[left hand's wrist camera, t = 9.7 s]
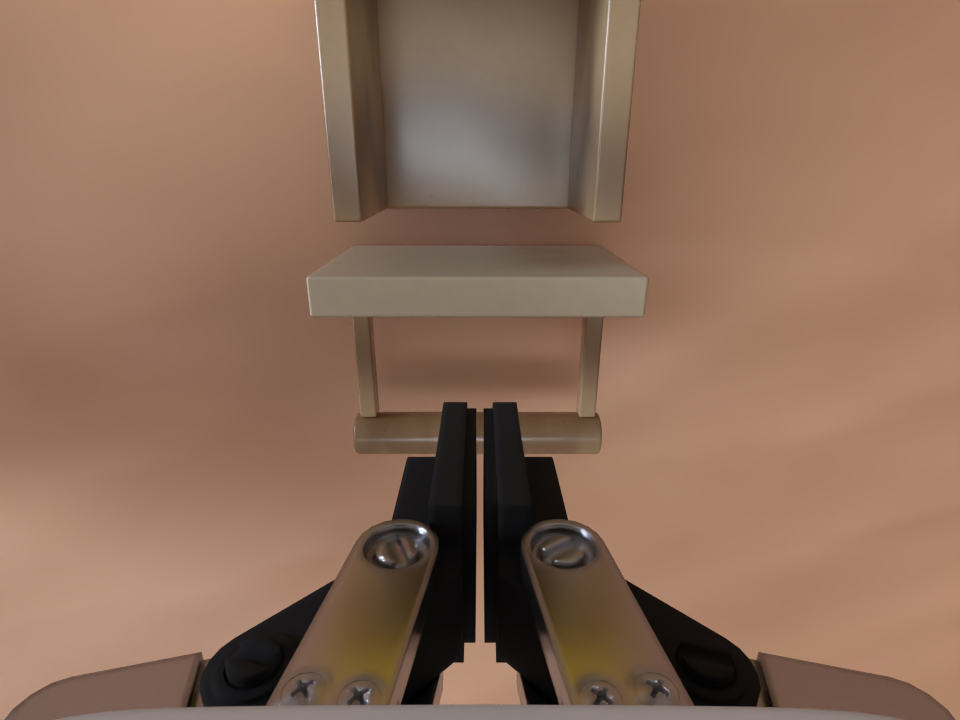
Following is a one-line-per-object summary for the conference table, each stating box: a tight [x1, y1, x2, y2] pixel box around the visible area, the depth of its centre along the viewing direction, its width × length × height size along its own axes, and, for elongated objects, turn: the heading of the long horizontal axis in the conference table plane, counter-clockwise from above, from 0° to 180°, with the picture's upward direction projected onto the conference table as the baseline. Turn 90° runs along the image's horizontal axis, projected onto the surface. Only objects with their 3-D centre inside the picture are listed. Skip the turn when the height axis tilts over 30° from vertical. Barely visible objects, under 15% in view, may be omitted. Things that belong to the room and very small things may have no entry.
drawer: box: [306, 0, 648, 454], centre depth 16 cm, size 23×10×6 cm, turn 0°
